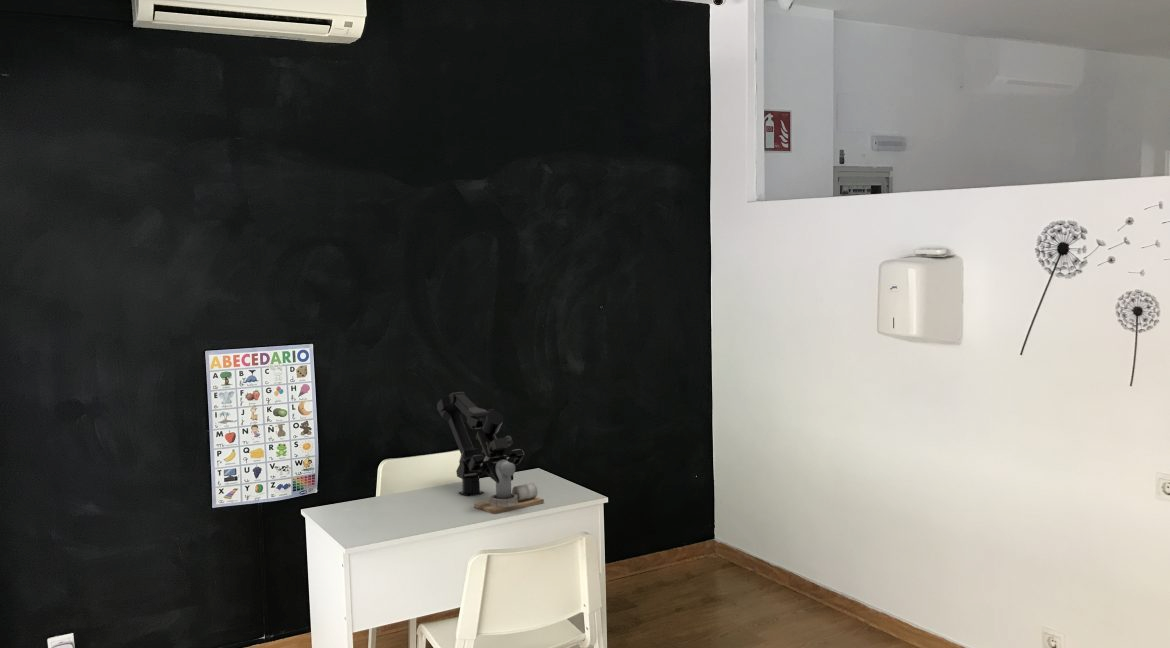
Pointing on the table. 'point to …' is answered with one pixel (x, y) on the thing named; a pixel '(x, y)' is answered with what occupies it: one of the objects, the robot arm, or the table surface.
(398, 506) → the table surface
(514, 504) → the board
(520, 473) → the table surface
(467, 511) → the table surface
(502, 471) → the elbow
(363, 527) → the table surface
